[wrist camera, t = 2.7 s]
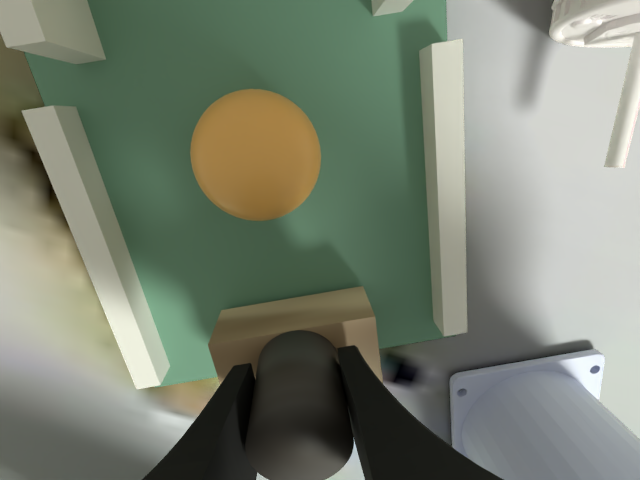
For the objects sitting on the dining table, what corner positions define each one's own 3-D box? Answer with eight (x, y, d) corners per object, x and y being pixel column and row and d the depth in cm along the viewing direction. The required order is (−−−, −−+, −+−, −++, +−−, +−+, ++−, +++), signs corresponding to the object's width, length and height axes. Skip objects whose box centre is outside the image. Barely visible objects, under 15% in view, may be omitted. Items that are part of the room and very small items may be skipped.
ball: (324, 195, 14) (335, 225, 10) (223, 212, 14) (195, 248, 10) (307, 84, 12) (313, 70, 9) (195, 103, 12) (150, 97, 9)
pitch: (445, 321, 17) (489, 382, 13) (164, 369, 17) (124, 444, 13) (426, -154, 11) (496, -299, 7) (-6, -86, 11) (-169, -197, 7)
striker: (370, 345, 16) (410, 466, 10) (237, 368, 16) (207, 502, 10) (362, 286, 15) (402, 384, 9) (221, 309, 15) (177, 423, 9)
